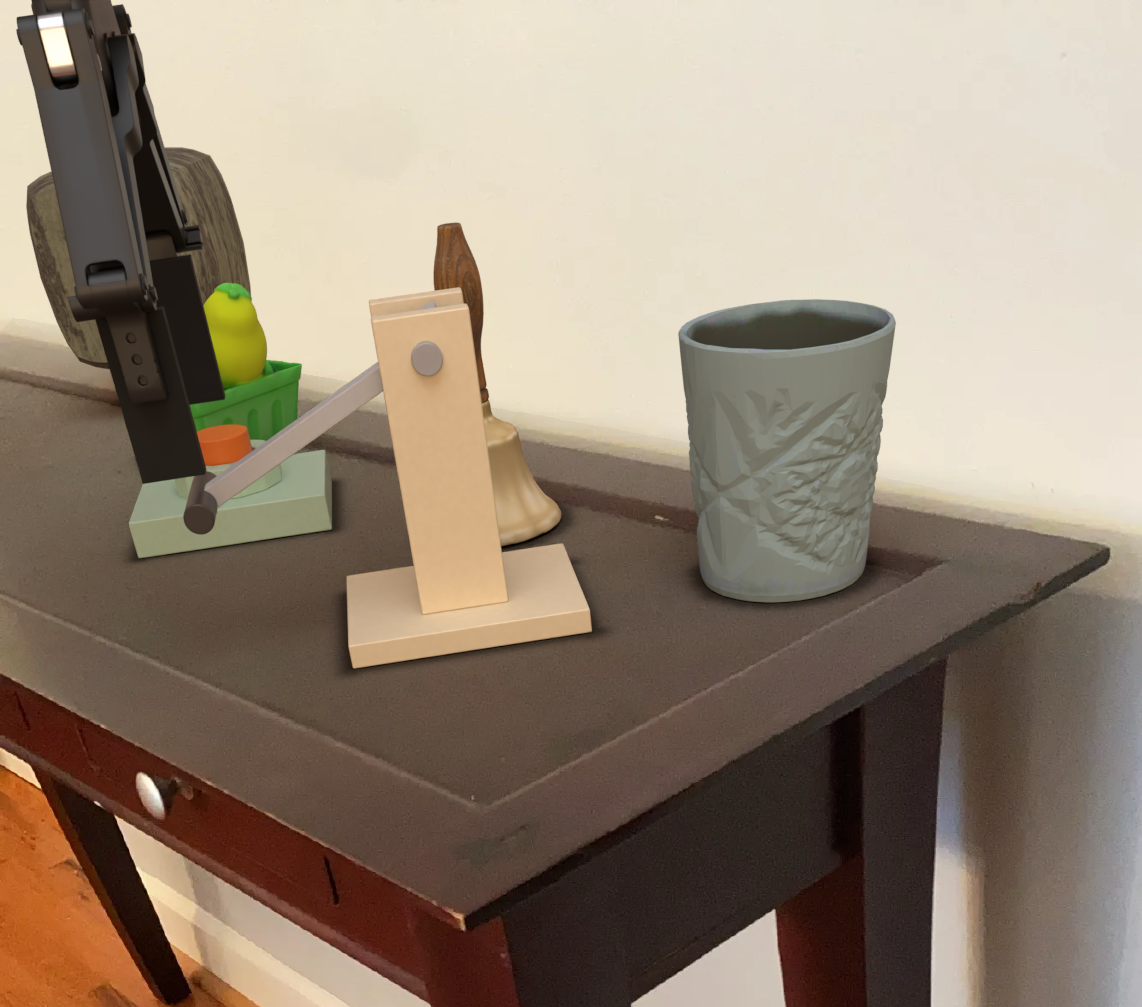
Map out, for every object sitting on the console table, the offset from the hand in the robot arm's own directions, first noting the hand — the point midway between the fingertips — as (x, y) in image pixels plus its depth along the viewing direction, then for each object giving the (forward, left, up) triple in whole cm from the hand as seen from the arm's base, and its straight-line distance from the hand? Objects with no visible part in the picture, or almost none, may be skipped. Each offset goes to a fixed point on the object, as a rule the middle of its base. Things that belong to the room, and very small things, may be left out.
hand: (188, 437), depth 66 cm
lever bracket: (+12, 0, -11) cm, 16 cm away
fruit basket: (-2, +38, -11) cm, 40 cm away
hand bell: (+14, +13, -11) cm, 22 cm away
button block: (-1, +22, -11) cm, 25 cm away
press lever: (+7, 0, -1) cm, 7 cm away
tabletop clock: (-8, +56, -11) cm, 58 cm away
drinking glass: (+29, -1, -11) cm, 31 cm away
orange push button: (-1, +22, -7) cm, 23 cm away
